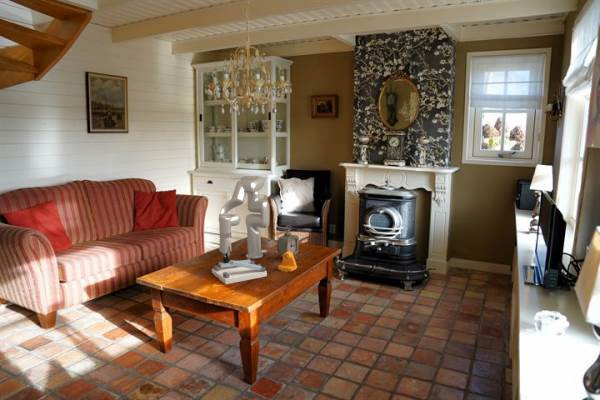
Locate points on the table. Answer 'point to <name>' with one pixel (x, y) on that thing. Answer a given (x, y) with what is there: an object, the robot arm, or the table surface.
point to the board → (237, 273)
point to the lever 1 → (231, 264)
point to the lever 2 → (245, 265)
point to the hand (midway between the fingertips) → (226, 262)
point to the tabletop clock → (288, 243)
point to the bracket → (288, 262)
